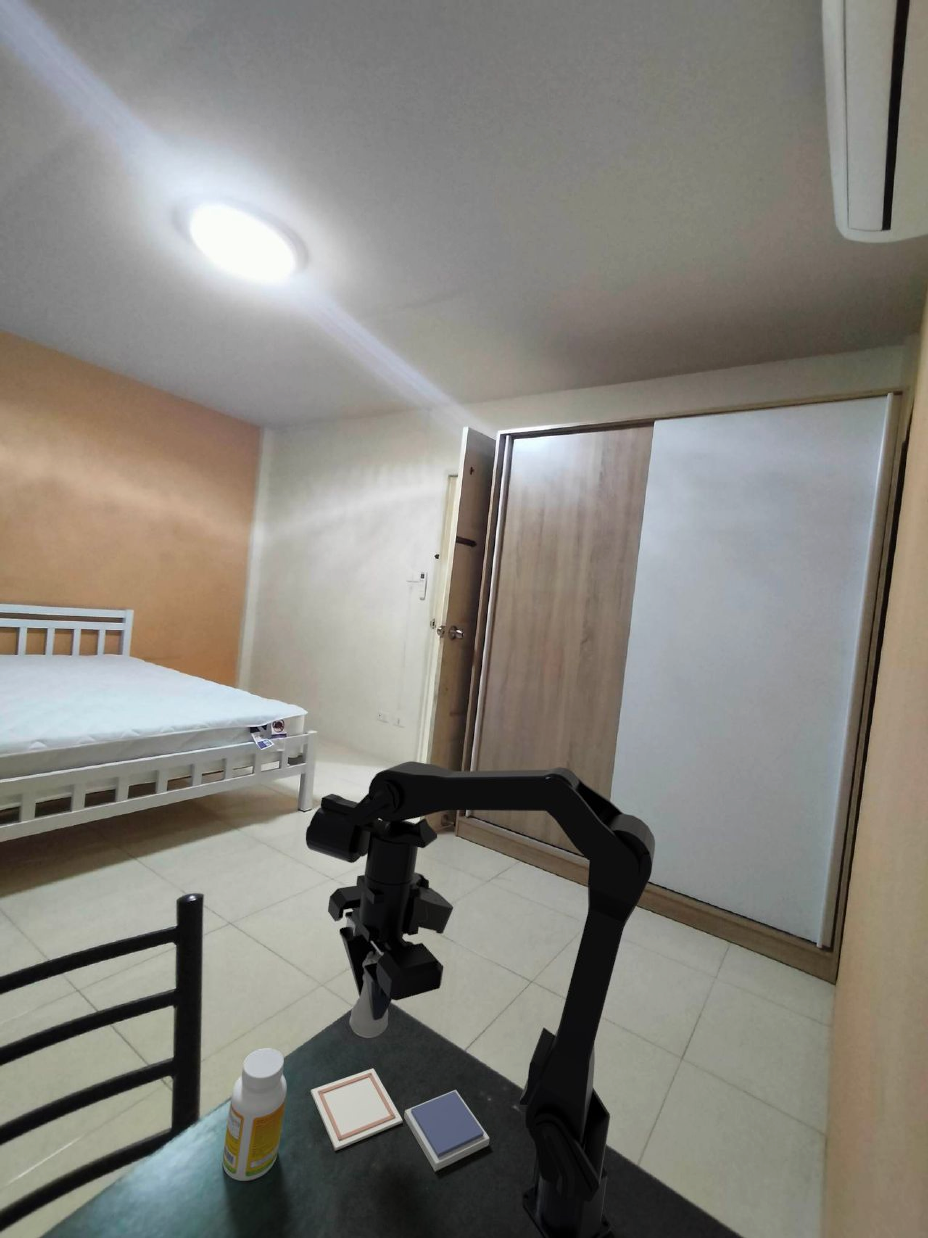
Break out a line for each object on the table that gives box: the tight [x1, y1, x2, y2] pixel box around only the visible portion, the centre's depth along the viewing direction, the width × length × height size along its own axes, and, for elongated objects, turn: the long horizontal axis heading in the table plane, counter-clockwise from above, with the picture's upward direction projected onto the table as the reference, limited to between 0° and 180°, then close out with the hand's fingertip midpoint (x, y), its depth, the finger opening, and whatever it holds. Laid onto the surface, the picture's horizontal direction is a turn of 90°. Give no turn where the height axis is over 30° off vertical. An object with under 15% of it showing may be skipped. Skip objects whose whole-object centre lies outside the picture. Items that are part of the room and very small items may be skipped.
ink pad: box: [403, 1089, 490, 1172], centre depth 63 cm, size 7×7×1 cm
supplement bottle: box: [222, 1047, 288, 1182], centre depth 57 cm, size 5×5×10 cm
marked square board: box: [310, 1068, 403, 1152], centre depth 65 cm, size 8×8×1 cm
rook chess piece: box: [349, 950, 389, 1039], centre depth 65 cm, size 4×4×8 cm
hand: (370, 1007), depth 65 cm, fingers closed on rook chess piece, 3 cm apart
